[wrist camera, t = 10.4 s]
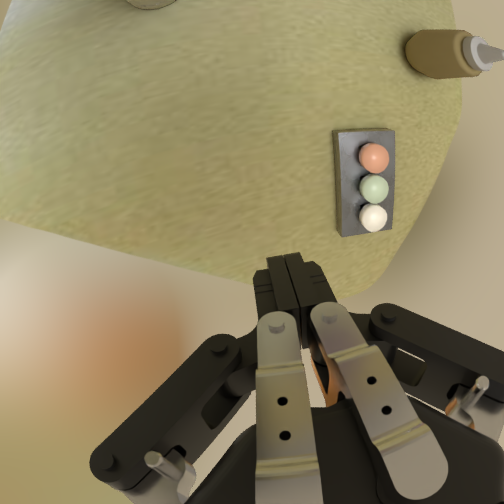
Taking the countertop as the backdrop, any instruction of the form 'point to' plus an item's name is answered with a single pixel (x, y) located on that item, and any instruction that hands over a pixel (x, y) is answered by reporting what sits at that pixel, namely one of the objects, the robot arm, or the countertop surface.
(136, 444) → the robot arm
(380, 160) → the terracotta button
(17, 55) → the countertop surface
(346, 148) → the panel
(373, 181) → the sage button
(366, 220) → the ivory button
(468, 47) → the squeeze bottle
